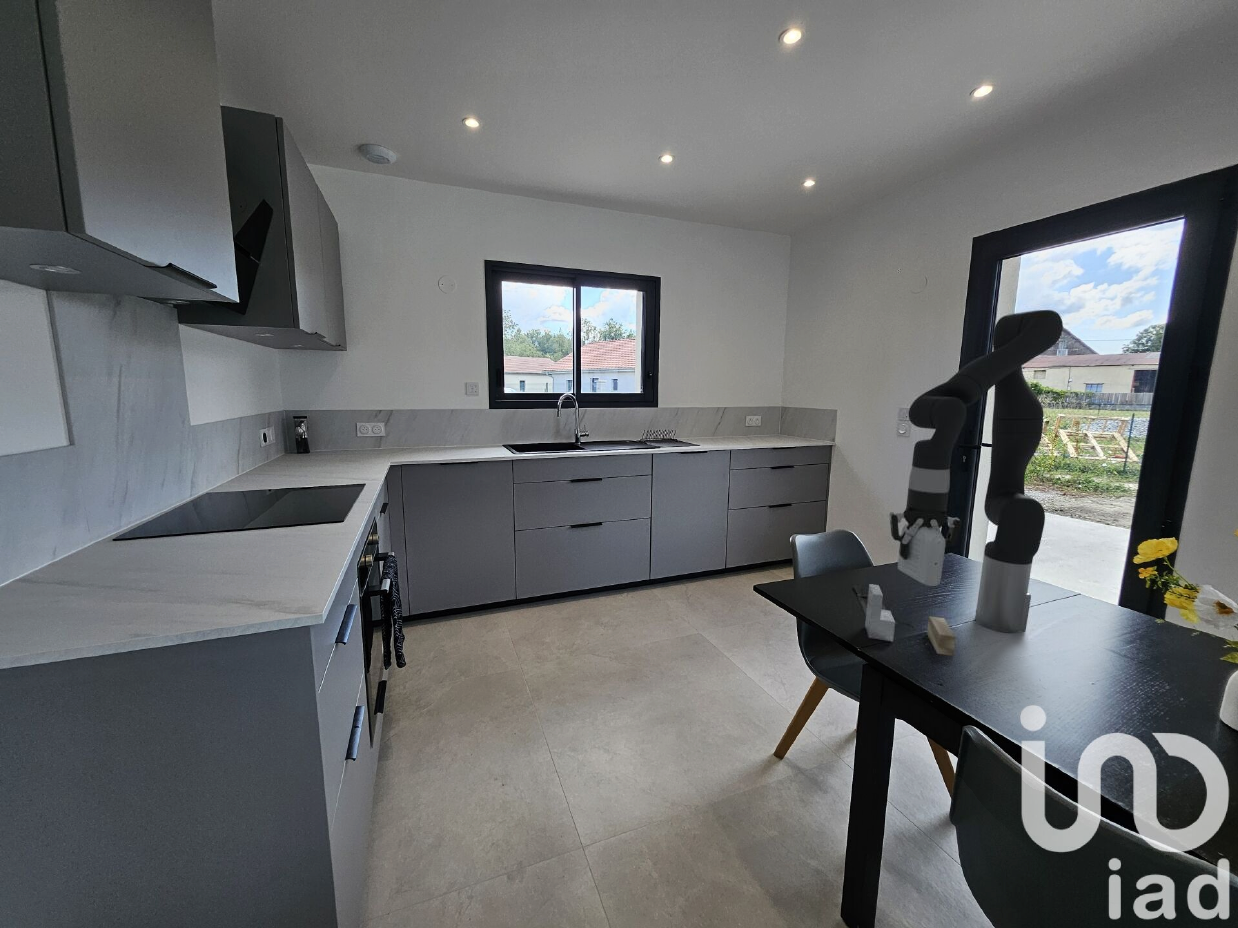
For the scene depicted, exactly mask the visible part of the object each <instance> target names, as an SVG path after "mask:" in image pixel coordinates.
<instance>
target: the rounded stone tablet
mask: <svg viewBox="0 0 1238 928" xmlns="http://www.w3.org/2000/svg"><path fill="white" fill-rule="evenodd" d="M907 525H908V523H905V524H904V525H903V527H902V529H901V534H900V535H902V534H903V532H904V530H905V528H906V526H907ZM910 528H911V527H910ZM910 528H909V529H910ZM941 534H942V533H941ZM941 534H940V533H939V532H938V531H936V530H935V529H933V528H931V527H930V528H927V527H921V528H919V529H918V530H917V531H916V533H915V534H914V535H913V536H912V537H911V539H910V540H909V541H908V544H909V547H908V556H907V560H904V559H903V558H902V557H901V556H900V554H899V553H898V560H897V561H898V562H897V569H898V570H899V571H900V572H902V573H903V574H905V575H907V576H909V577H911V578H912V579H914V580H915V581H918V582H919V583H920V584H924V585H926V586H928V587H929V586H930V587H935V586H938V585H939V584H940V583H941V580H942V579H941V578H942V573H943V565H944V558H945V551H946V550H945V549H946V547H945V539H946V538H944V536H943V534H942V535H941Z"/></svg>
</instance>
